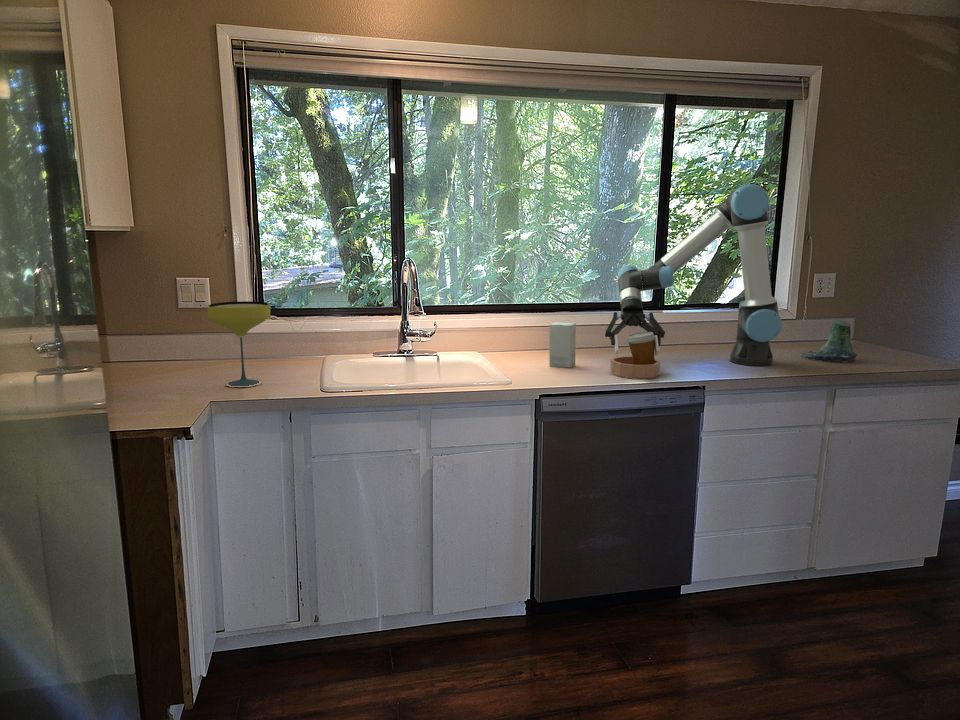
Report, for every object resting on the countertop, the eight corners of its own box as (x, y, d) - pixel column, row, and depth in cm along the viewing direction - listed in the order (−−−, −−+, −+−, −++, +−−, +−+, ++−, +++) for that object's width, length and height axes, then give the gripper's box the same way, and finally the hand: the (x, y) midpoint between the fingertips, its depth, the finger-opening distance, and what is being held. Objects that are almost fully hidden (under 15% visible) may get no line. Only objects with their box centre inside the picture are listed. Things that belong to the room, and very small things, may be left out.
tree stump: (828, 354, 273) (843, 313, 266) (864, 375, 255) (881, 332, 248) (790, 353, 268) (804, 311, 261) (824, 375, 251) (840, 331, 243)
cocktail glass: (203, 391, 200) (197, 307, 195) (225, 377, 218) (220, 301, 213) (263, 391, 200) (259, 308, 195) (281, 378, 218) (277, 301, 213)
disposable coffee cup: (660, 369, 225) (655, 334, 223) (631, 373, 227) (626, 339, 225) (658, 363, 234) (654, 330, 232) (631, 367, 236) (626, 334, 234)
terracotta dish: (653, 369, 238) (653, 356, 237) (663, 379, 222) (664, 365, 221) (607, 368, 238) (607, 355, 237) (614, 378, 222) (615, 365, 221)
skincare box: (575, 365, 243) (577, 322, 240) (570, 368, 237) (571, 325, 234) (553, 363, 246) (555, 321, 243) (547, 366, 240) (549, 323, 237)
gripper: (664, 310, 241) (671, 359, 229) (594, 309, 241) (598, 358, 230) (668, 297, 234) (676, 347, 223) (597, 296, 235) (601, 345, 223)
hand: (637, 352), depth 226 cm, fingers open, 13 cm apart
